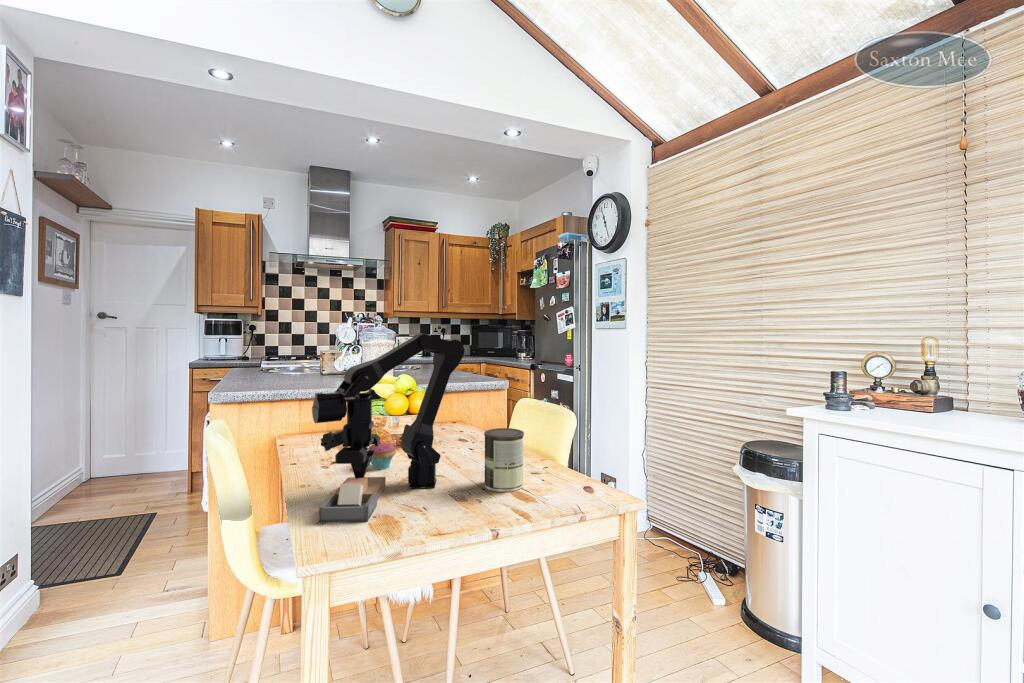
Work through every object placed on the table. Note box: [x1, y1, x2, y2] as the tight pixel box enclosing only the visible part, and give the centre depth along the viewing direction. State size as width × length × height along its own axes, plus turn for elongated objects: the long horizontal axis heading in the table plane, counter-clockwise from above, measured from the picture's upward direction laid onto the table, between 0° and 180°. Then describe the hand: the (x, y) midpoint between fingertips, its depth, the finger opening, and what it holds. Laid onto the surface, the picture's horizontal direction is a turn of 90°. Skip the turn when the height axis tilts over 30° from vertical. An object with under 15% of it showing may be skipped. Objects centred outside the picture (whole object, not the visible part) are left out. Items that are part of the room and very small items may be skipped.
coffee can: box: [483, 427, 525, 493], centre depth 126 cm, size 10×10×14 cm
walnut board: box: [334, 476, 387, 503], centre depth 118 cm, size 10×13×2 cm
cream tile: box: [338, 483, 363, 507], centre depth 109 cm, size 4×4×2 cm
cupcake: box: [368, 426, 397, 470], centre depth 142 cm, size 9×8×12 cm
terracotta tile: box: [343, 477, 368, 495], centre depth 114 cm, size 4×4×2 cm
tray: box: [318, 492, 378, 524], centre depth 106 cm, size 10×10×3 cm
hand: (359, 483), depth 117 cm, fingers closed
